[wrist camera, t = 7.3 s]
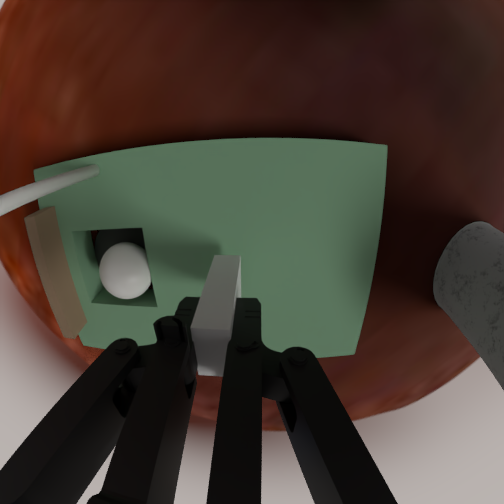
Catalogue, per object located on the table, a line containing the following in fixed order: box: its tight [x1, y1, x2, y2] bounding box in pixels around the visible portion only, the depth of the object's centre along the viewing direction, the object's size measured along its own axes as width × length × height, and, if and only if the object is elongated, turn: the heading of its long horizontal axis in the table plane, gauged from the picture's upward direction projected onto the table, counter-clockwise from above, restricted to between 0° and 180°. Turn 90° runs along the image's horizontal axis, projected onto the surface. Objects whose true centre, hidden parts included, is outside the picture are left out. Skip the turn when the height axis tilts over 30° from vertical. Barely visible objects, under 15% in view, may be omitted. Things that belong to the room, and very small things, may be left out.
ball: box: [99, 242, 152, 299], centre depth 18 cm, size 4×4×4 cm
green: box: [0, 138, 387, 358], centre depth 12 cm, size 16×24×16 cm, turn 91°
